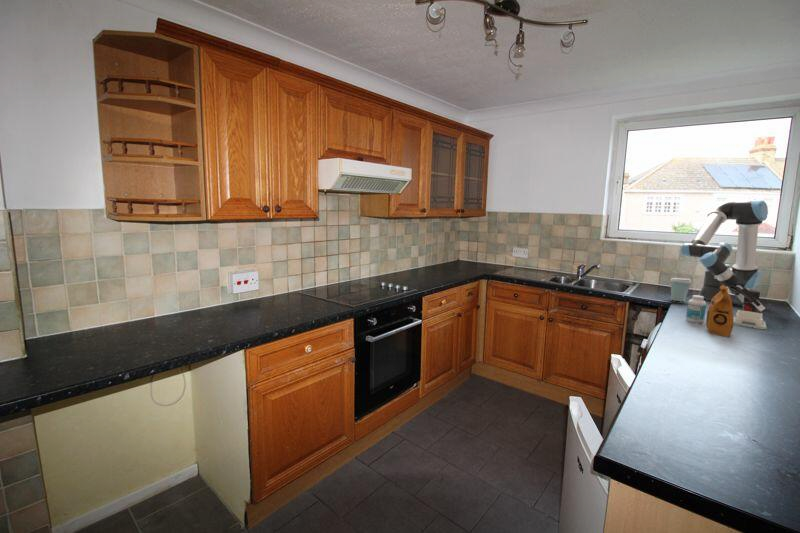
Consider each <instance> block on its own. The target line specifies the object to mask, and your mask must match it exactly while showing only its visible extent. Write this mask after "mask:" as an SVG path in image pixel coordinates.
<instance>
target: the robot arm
mask: <svg viewBox="0 0 800 533" xmlns="http://www.w3.org/2000/svg"><path fill="white" fill-rule="evenodd" d="M768 215H769V209H768V204H767V202H766V201H764V200H759V199H729V200H725V201H723V202H720V203H719V204H717V205H716V206H714V207H713V208H712V209H711V210H710V211H709V213H707V218H706V220H705V221H704V223H703V224H702V225H701V227H700V229H698V232H696V234H695V236H694V237H693V239H692V240H691V241H690V242H688V243H687V242H686V243H684V244H682V245H681V249H680V250H681V252H680V253H681V255H682V256H684V257H690V258H699V262H700V263H701V264H702V266H703V267H705V271H704V280H703V286H702V288H701V289H700V291H699V293H698V295H699V296H703V297H704V299H706V300H705V301H708V300H711V299H712V298H713V297H714V296H715V295H716V294H717V293H719V292H720V291H721V289H720V286H725V287H727V288H728V290H729V291H730V292H731V294H733V295H734V296H736V297H737V299H738V300H740V301H741V303H743V301H744V296H745V297H746V298H747V299H749V300H750V301H751V302H750V303H752V304H753V305H754V306H755V307H756V308H757V311H759V313H762V311H764V310H765V309H766V307H765V306H764V305H763V304H762V303H761V302H760V300H759V301H758V298H757V297H755V296H754V295H753V294H752V293H751V292H749V291H748V290H753V289H755V288H756V287H757V286H758V285H759V283H760V281H761V278H762V276H763V275H762V270H759V267H758V265H756V264H755V263H756V256H757V255H756V253H757V244H758V233H759V226H760V225H762V224H763V221H764V222H765V221H766V220H767V218H768ZM728 220H731V221H732V220H734V221H735V224H736V225H737V226H738V234H737V246H736V256H735V263H734V264H733V265H732V267H731V265H730V264H725V263H726V261H727V259H728V258H729V257H730V255H731V254H732V252H733V247H732V245H730V244H729V242H719V243H717V244H716V245H712V244H711V245H710V244H709V242H710V241H711V240H712V238H713V237H714V235H715V234H716V233H717V231H718V229H719V228H720V227H721V225H722V224H724V223H725V222H726V221H728ZM704 299H703V300H704Z"/></svg>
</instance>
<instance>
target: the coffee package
mask: <svg viewBox="0 0 800 533" xmlns="http://www.w3.org/2000/svg"><path fill="white" fill-rule="evenodd" d="M720 289H721V291H720V292H719V293H717V294H716V295H715V296H714V297H713V298H712V299H711V301H710V303H709V305H708V310H707V312H706V321H705V326H706V329H707V331H708V333H709V334H710V335H715V336H722V337H729V338H730V336H731V333H732V332H733V327H734V324H733V319H734V317H735V315H734V308H733V303H732V298H731V296H730V293H729V292H728V290H729V288H728V287H725V286H720Z"/></svg>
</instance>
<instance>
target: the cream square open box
mask: <svg viewBox="0 0 800 533" xmlns="http://www.w3.org/2000/svg"><path fill="white" fill-rule="evenodd" d="M734 325H735V326H740V325H741V326H742V327H746V326H747V327H748V328H752V327H753V329H759V330H764V329H765V330H767V323H766V321H765V320H764V319H763V313H762V312H757V313H755V312H749V311H742V309H737V310H736V315H735V316H734V319H733V326H734ZM741 326H740V327H741ZM747 327H746V328H747ZM765 330H764V331H765Z"/></svg>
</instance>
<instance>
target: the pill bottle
mask: <svg viewBox="0 0 800 533" xmlns="http://www.w3.org/2000/svg"><path fill="white" fill-rule="evenodd" d="M686 309H687V310H686V315H685V316H686V317H685V320H686V321H688V322H690V323H697V324H701V323H704V321H705V315H706V310H707V302H706V300H704V297H703V296H699V294H698V295H697V294H694V295H691V299H689V300H688V302H687V308H686Z"/></svg>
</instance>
